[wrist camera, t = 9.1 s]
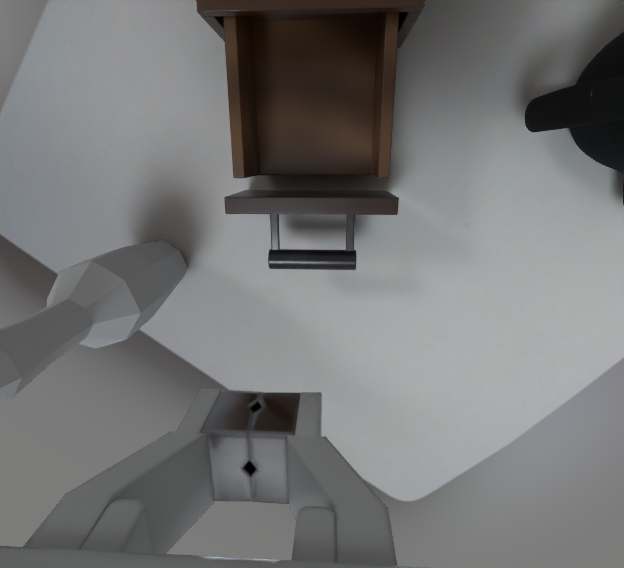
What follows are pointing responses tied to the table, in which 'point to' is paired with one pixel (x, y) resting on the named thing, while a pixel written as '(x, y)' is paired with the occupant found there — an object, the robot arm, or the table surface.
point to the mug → (589, 108)
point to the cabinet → (309, 10)
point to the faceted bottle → (90, 309)
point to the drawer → (311, 117)
